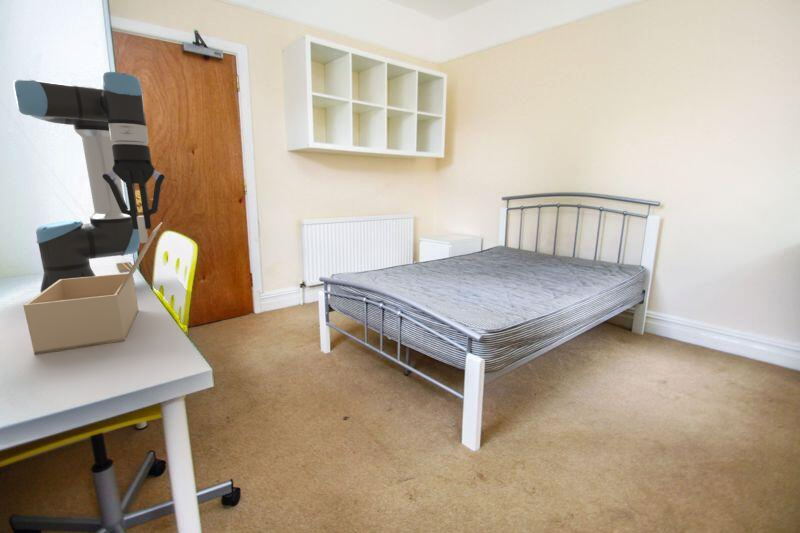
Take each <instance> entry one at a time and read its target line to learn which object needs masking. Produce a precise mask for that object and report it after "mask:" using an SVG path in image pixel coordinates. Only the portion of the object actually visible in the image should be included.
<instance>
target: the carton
mask: <svg viewBox="0 0 800 533" xmlns="http://www.w3.org/2000/svg"><path fill="white" fill-rule="evenodd" d="M128 273H129V272H126V273H116V274H106V275H95V276H93V277H82V278H71V279H60V280H58V281H57V282H55V283H54V284H53V285H51V286H50V287H48V288H47V289H46V290H44V291H43V292H40V293H38V294H37V295H36V296H34V297H33V298H31V299H30V300H29V301H27V302H26V303H25V304H23V305H22V306H23V309H24V314H25V317H26V323H27V328H28V332H29V335H30V341H31V345H32V349H33V350H32V351H33V355H42V354H47V353H52V352H59V351H66V350H73V349H80V348H86V347H93V346H99V345H105V343H106V344H112V343H118V342H119V343H120V342H125V340H126V338H127V336H128V334H129V332H130V330H131V328H132V325H133V324H134V322H135V319H136V317H137V315H138V313H139V304H138V297H137V292H136V286H135V280H134V274H133V275H132V277H131V278H130V279H129V281H128V282H127V284H126V285H125V287H124V288H123V289H122V291H121V292H120V294H119V295H117V293H118V291H119V289H120V287H121V286H122V284H123V282H124V280H125V279H126V277H127V275H128Z"/></svg>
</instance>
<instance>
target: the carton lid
mask: <svg viewBox="0 0 800 533" xmlns="http://www.w3.org/2000/svg"><path fill="white" fill-rule="evenodd" d="M162 224H164V223H163V221H160V223H159V224H158V225H157V226H156V227H155V228H154V229H153V230H152V231H151V233H150V235H149V236H148V240H147V242H146V243H144V245H143V248H142V249H141V250H140V253H139V254H138V255H137V258H136V260H135V261H134V263H133V265H132V266H131V268H130V270H129V272H127V273H128V275H127V277H126V279H125V280H124V282H123V284H122V286H121V287H120V289H119V291H118V293H117V295H119V294H120V292H121V291H122V289H123V288H124V287H125V285H126V284H127V282H128V281H129V279H130V278H131V277H132V275H133V276H134V274H135V272H136V270H137V269H138V267H139V265H140V263H141V262H142V260H143V258H144V256H145V255H146V253H147V251H148V249H149V248H150V246H151V244H152V242H153V240H154V238H155V237H156V235H157V233H158V232H159V231H160V228H161V226H162Z"/></svg>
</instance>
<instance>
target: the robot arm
mask: <svg viewBox="0 0 800 533" xmlns="http://www.w3.org/2000/svg"><path fill="white" fill-rule="evenodd" d="M100 78H101V88H98V87H93V86H82V85H74V84H65V83H56V82H50V81H49V82H47V81H41V80H35V79H21V78H19V79H17V78H16V79H15V80H13V91H14V96H15V100H16V105H17V109H18V111H19V112H20V114H22V115H25V116H30V117H32V118H34V119H38V120H39V121H44V122H49V123H53V124H59V125H69V126H73V131H74V133H76V134H77V135H79V136H80V138H81V141H82V146H83V147H82V148H83V152H84V153H83V154H84V158H85V164H86V170H87V176H88V182H89V187H90V193H91V199H92V205H93V209H94V210H93V211H94V212H93V214H92V215H91V216H90V217H89V220H90V223H84V222H83V221H82V220H81V219H72V220H64V221H56V222H52V223H46V224H43V225H40V226H39V227H37V229H36V230H35V231H36V232H35V235H36V244H38V250H39V253H40V259H41V265H42V269H43V276H42V280H41V281H42V282H41V286H40V289H39V290H40V293H41V292H43V291H44V290H46V289H47V288H48V287H50V286H51V285H53V284H54V283H55V282H57V281H58V280H60V279H71V278H82V277H93V276H96V274H95V272H94V271H93V269H92V268H91V265H90V260H91V259H93V260H94V259H99V258H109V257H110V258H111V257H117V256H121V257H123V256H126V255H127V256H128V255H132V254H135V253H137V252H138V251H139V249H140V244H146V242H147V240H148V238H149V236H148V230H149V229H150V230H151V228H152V219H151V216H152V215H154V214H156V213H158V211H159V206H160V205H159V204H160V199H161V198H160V197H161V193H162V192H161V191H162V184H163V182H164V181H165V179H166V175H165V174H164V173H163V174H162V173H160V172H158V171H157V170H156V168H155V166H153V163H152V158H151V156H152V155H151V151H150V146H149V145H147V144H149V136H148V135H149V134H148V126H147V122H146V113H145V106H144V96H143V94H144V92H143V89H142V86H141V81H140V79H139V78H138V77H137V76H135V75H133V74H130V73H127V72H126V73H125V72H120V71H119V72H118V71H107V72H106V71H105V72H103V73H102V74H101V77H100ZM152 176H153V179H154V180H155V182H154V190H153V197H152V202H151V208H150V203H149V202H150V201H149V195H148V189H147V183H148V182H149V181H150V179H151V178H152ZM122 182H124V184H125V187H126V191H127V198H128V205H129V207H128V206H127V203H126V202H125V198H124V192H123V184H122ZM135 184H138V188H139V194H140V201H141V206H142V215H139V212H138V205H137V204H138V203H137V198H136V192H135V191H136V190H135Z"/></svg>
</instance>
